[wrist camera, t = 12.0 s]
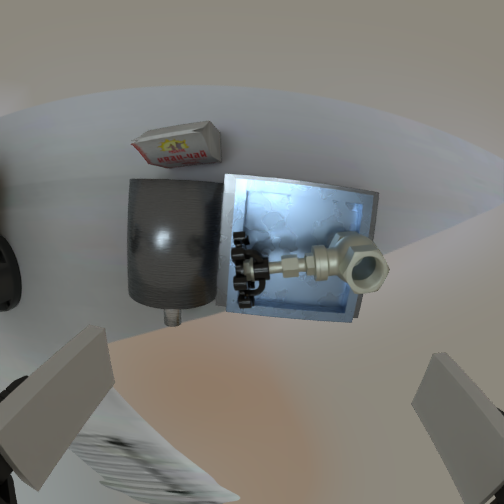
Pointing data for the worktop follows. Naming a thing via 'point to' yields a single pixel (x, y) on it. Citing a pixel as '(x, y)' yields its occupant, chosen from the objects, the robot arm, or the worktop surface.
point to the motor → (221, 241)
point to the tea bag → (180, 145)
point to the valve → (310, 265)
